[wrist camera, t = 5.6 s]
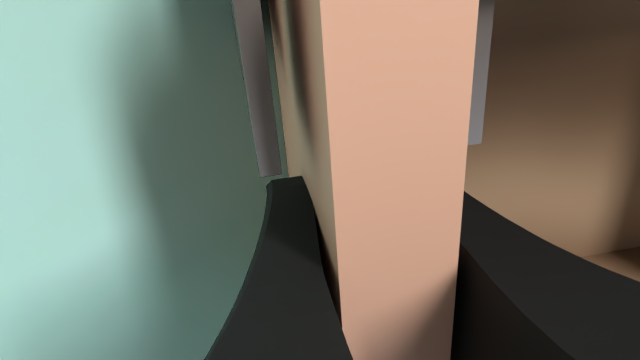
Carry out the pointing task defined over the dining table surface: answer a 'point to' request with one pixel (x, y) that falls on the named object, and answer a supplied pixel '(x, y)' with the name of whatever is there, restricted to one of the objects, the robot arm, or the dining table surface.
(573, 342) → the robot arm
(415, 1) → the door
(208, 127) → the dining table surface
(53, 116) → the dining table surface
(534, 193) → the cabinet
